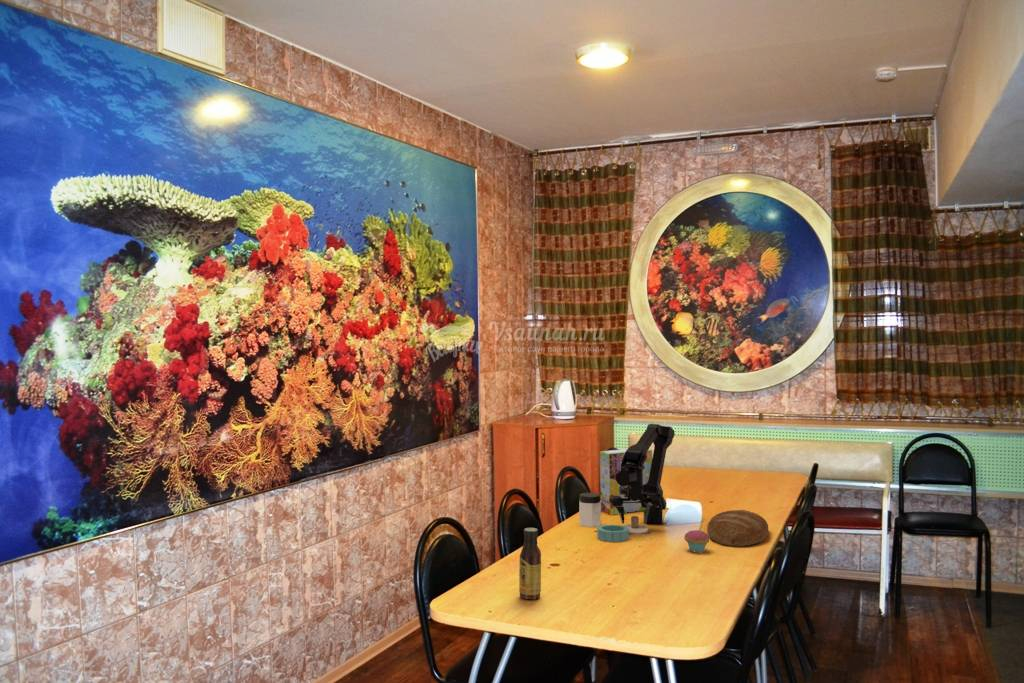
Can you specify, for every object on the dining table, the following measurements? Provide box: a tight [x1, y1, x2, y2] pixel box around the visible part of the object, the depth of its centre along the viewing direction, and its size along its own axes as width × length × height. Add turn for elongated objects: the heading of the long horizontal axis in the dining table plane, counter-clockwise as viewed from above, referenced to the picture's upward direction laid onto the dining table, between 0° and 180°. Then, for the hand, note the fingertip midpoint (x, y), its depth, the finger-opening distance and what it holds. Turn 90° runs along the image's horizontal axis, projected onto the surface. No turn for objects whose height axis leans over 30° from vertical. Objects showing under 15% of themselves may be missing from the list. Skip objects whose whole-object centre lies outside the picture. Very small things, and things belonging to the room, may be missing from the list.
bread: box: [706, 509, 769, 547], centre depth 319 cm, size 22×37×8 cm, turn 160°
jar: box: [578, 492, 602, 528], centre depth 333 cm, size 9×8×12 cm
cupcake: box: [683, 517, 710, 553], centre depth 296 cm, size 9×8×12 cm
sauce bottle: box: [518, 527, 542, 600], centre depth 245 cm, size 6×6×20 cm
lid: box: [622, 515, 649, 535], centre depth 323 cm, size 10×10×5 cm
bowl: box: [596, 524, 630, 543], centre depth 312 cm, size 11×11×4 cm
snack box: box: [599, 448, 653, 515], centre depth 359 cm, size 22×9×26 cm, turn 115°
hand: (634, 523), depth 323 cm, fingers open, 9 cm apart
